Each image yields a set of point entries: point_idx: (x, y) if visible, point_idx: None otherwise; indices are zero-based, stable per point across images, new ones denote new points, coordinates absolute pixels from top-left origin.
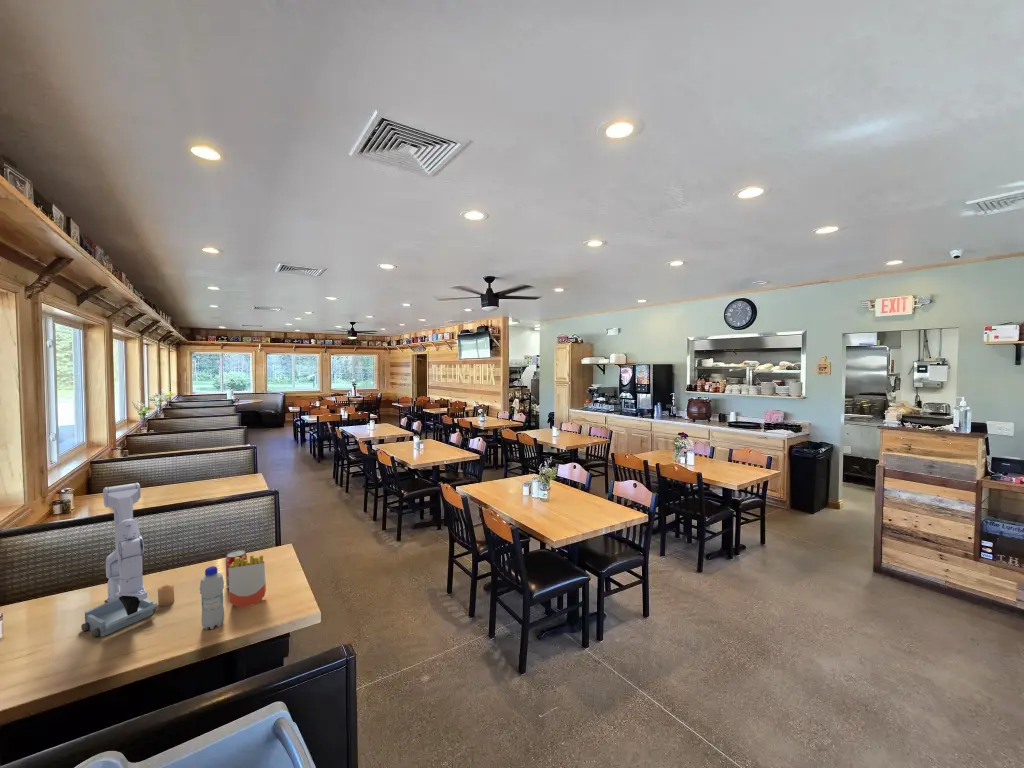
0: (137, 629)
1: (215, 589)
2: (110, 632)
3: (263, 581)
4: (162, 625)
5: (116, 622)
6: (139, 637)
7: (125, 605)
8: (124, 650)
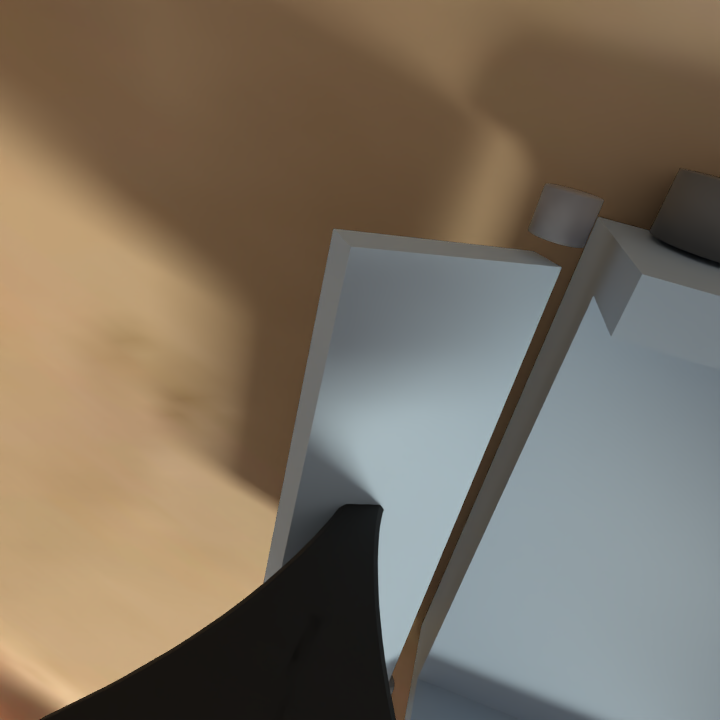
0: None
1: None
2: (560, 312)
3: None
4: (145, 469)
5: (318, 320)
6: (129, 282)
7: (277, 662)
8: (8, 41)
